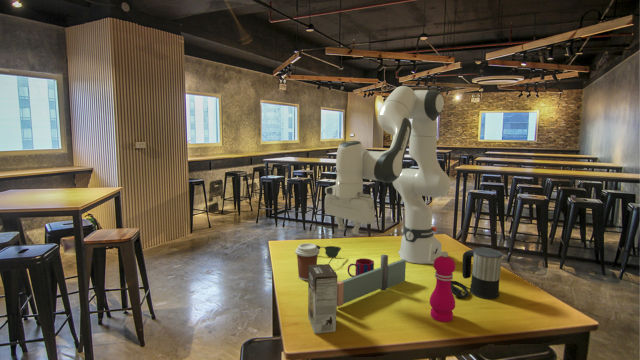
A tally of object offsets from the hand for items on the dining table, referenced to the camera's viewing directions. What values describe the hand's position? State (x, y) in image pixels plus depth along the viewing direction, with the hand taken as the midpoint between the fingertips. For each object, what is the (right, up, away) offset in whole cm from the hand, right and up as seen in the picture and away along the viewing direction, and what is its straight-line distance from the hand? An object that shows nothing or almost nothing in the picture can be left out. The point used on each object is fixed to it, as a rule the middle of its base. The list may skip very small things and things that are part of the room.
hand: (348, 232), depth 119 cm
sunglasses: (-10, -18, +32) cm, 38 cm away
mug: (+6, -20, +14) cm, 25 cm away
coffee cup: (-14, -19, +16) cm, 29 cm away
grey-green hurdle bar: (+4, -21, -2) cm, 21 cm away
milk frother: (+43, -22, +3) cm, 48 cm away
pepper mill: (+27, -24, -13) cm, 38 cm away
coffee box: (-9, -24, -18) cm, 31 cm away
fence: (+7, -21, +1) cm, 23 cm away
